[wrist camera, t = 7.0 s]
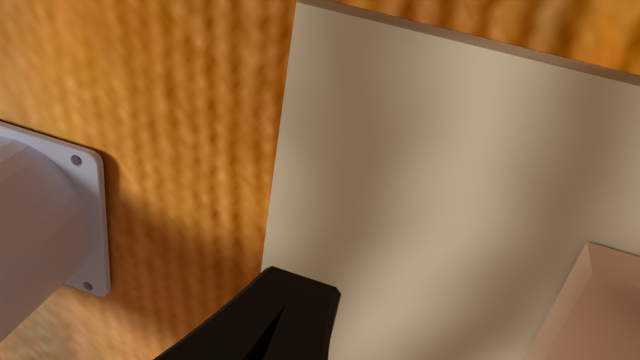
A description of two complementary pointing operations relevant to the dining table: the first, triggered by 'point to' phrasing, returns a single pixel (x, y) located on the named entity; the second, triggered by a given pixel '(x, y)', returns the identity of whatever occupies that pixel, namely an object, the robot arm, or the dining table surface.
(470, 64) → the board
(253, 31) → the dining table surface
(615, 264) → the block
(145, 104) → the dining table surface
